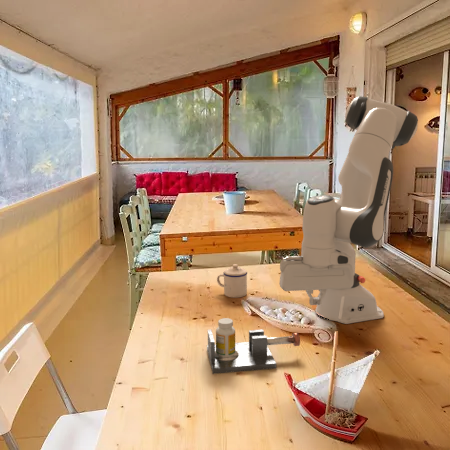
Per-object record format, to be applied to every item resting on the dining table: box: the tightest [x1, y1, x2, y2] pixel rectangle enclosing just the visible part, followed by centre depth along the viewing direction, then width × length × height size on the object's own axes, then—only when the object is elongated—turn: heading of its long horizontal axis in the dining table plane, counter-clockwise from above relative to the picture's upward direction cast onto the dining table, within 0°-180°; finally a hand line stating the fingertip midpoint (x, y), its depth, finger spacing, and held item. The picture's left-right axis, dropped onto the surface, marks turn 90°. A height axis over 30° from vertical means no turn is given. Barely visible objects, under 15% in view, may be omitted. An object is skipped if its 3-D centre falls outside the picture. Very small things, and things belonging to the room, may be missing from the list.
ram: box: [267, 332, 301, 347], centre depth 137 cm, size 13×4×4 cm, turn 98°
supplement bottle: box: [215, 317, 236, 357], centre depth 135 cm, size 5×5×10 cm
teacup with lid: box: [216, 263, 248, 299], centre depth 188 cm, size 12×9×12 cm
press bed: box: [206, 329, 277, 375], centre depth 136 cm, size 17×14×8 cm
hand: (315, 304), depth 136 cm, fingers closed
